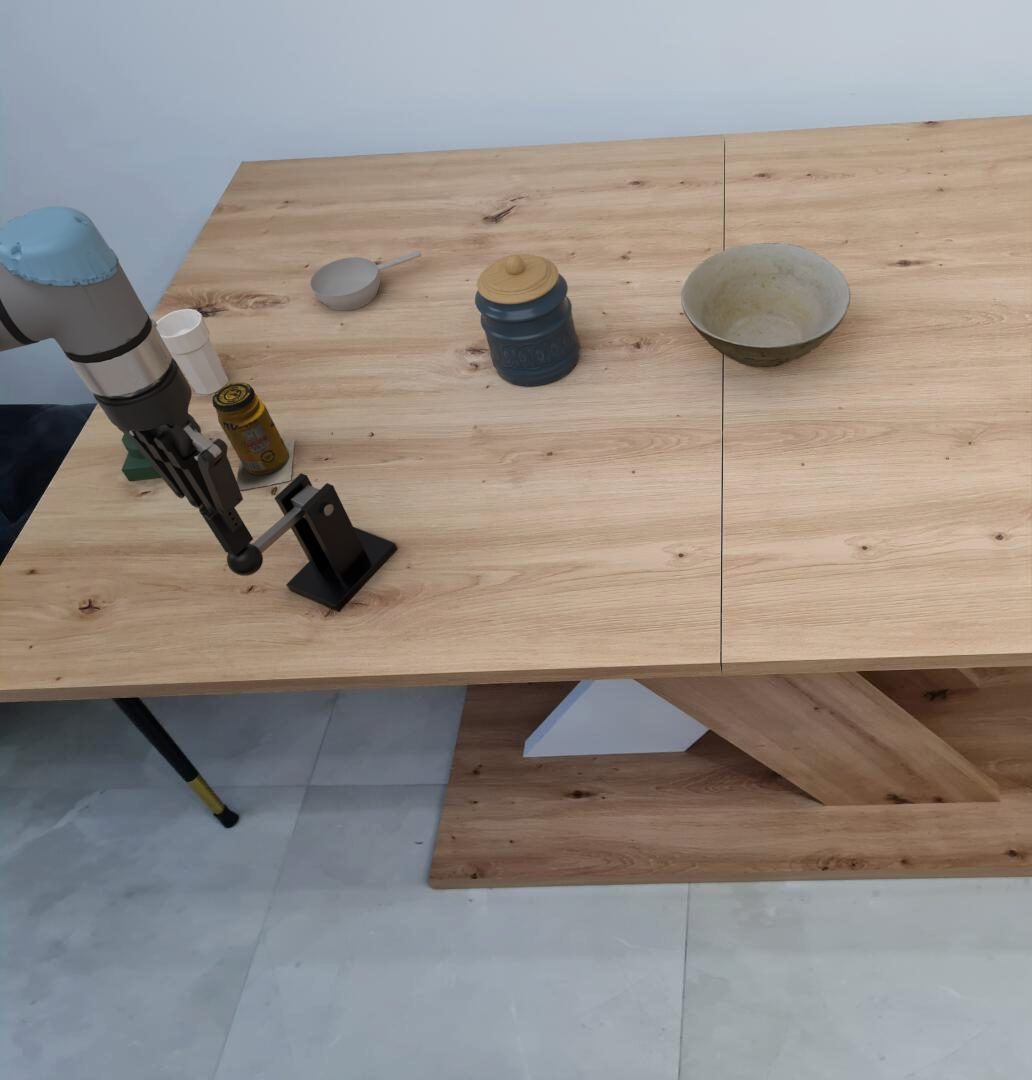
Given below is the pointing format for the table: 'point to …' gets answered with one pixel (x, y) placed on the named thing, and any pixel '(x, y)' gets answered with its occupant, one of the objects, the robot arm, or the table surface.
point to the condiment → (253, 437)
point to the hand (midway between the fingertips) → (239, 545)
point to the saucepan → (351, 281)
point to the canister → (527, 319)
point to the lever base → (331, 547)
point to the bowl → (765, 302)
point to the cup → (192, 349)
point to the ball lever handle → (269, 537)
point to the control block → (136, 463)
